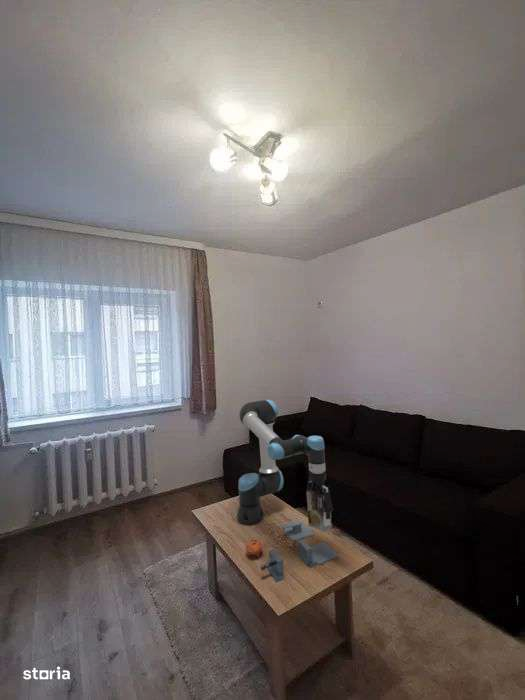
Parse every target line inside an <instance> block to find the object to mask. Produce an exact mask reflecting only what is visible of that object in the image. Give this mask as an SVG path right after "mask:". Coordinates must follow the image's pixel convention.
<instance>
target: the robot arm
mask: <svg viewBox="0 0 525 700" xmlns="http://www.w3.org/2000/svg"><path fill="white" fill-rule="evenodd" d="M278 416H279V411H278V407H277V405H276V403H275V402H274V401H273V400H271V399H262V400H257V401H249V402H247V403H245V404H243V405H242V407H241V409H240V410H239V415H238V417H239V421H240V422H241V425H243V426H244V427H245V428H248V429H249V430H250V431H251V432H252V433H254V435H255V436H256V437H257V438H258V441H259V442H258V443H259V455H260V464H261V465H260V468H259V469H258V473H256V472H251V473H250V472H249V473H245V474H243V475H241V477H239V479H238V486H237V487H238V499H239V506H238V509H237V514H236V519H237V523H239V524H241V525H244V526H253V525H257V524H259V523H261V522H262V521H263V520H264V518H265V513H264V511H263V507H262V505H261V498H262V497H265V496H267V495H271V494H275V493H277V492H279V491H281V490H282V489H283V487H284V475H283V473H282V471H281V470H280V469H279V467H278V466H277V464H276V460H282V459H287V458H289V457H290V458H291V457H293V456H297V455H300V454H304V455H306V456H307V458H308V475H309V477H307V485H306V491H308V490H309V489H310V488H311V489H312V490H315V491H317V492H318V494H319V495H323V494H324V498H325V500H324V501H323V507H324V510H325V511H324V526H325V527H326V526H328V525H330V512H331V513H332V512H333V511H334V508H333V507H334V506H333V501H332V498H331V497H332V496H331V492H330V493H329V491H330V487H329V486H325V485H326V484H325V481H326V480H327V475H326V474H327V473H326V457H325V455H326V454H325V441H324V438H323V437H322V436H321V435H311V436H310V435H309V436H308V437H306V436H304V435H301V434H295V435H294V436H293V437H291V438H289V439H286V440H283V439H282V437H281V438H280V437H279V435H278V434H276V433H275V432H274V429H273V425H274V424H275V423H276V422H275V419H277V417H278ZM321 492H323V493H321ZM305 496H306V497H307V492H305Z"/></svg>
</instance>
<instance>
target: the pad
mask: <svg viewBox="0 0 525 700" xmlns="http://www.w3.org/2000/svg"><path fill="white" fill-rule="evenodd" d="M310 547H311V548H312V557H313V558H314V559H315V560H316V561H317V566H321V565H323V564H325V563H327V562H330V561H333V560H335V559H337V558H339V557H340V556H339V554H338V553H337V552H336V551H334V549H332V548H331V547H330V546H329V545H328V544H327V543H326V542H325V541H323V542H320V543H317V544H315V545H313V546H310Z"/></svg>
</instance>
